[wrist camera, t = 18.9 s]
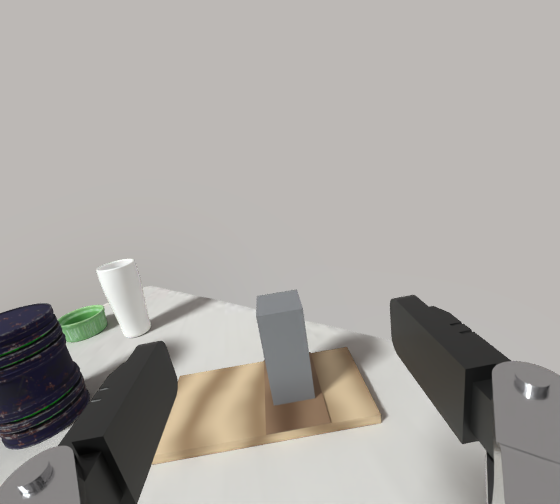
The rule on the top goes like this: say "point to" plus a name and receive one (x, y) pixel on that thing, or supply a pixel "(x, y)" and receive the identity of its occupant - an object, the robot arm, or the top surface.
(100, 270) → the drinking glass
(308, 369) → the tall grey rectangular prism
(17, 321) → the storage jar
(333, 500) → the top surface
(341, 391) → the board
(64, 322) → the ramekin
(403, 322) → the robot arm
